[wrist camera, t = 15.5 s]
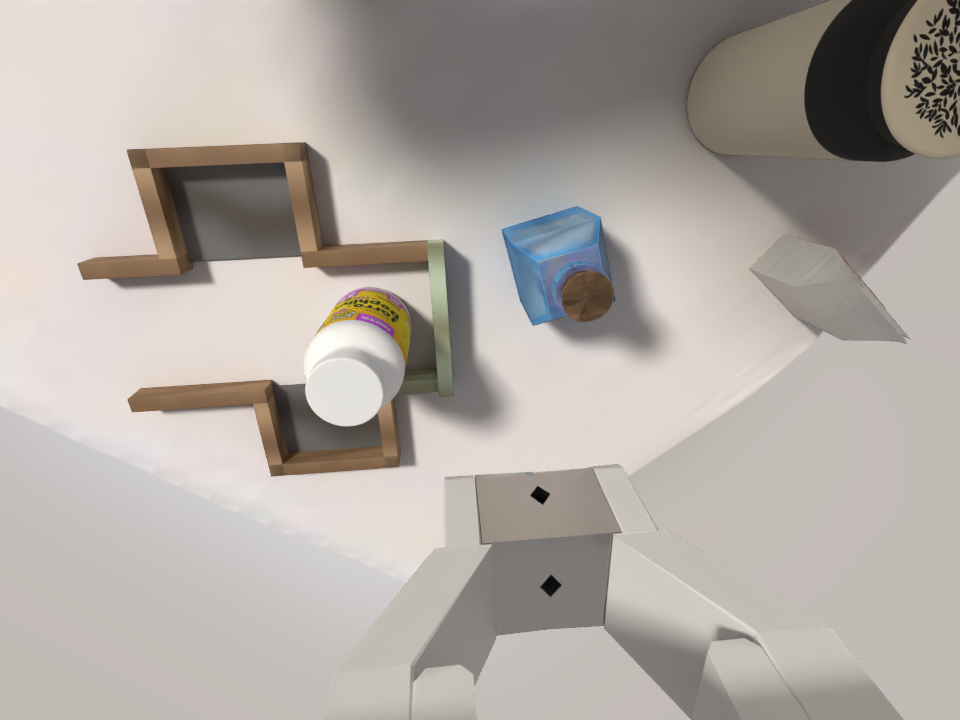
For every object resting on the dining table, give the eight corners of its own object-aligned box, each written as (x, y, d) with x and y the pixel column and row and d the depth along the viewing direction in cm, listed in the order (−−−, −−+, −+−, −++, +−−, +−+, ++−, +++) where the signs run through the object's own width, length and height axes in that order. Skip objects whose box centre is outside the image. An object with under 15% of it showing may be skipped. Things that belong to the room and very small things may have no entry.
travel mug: (724, 177, 39) (932, 203, 23) (663, 98, 36) (847, 62, 20) (810, 94, 37) (1107, 57, 21) (752, 4, 34) (1038, -121, 18)
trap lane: (57, 152, 35) (25, 153, 32) (436, 137, 36) (436, 136, 34) (170, 471, 46) (153, 492, 43) (457, 449, 47) (458, 469, 45)
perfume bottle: (520, 301, 42) (548, 357, 31) (501, 229, 39) (525, 262, 28) (591, 279, 42) (645, 329, 31) (577, 206, 39) (630, 231, 28)
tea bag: (793, 316, 44) (885, 361, 35) (748, 268, 42) (834, 303, 33) (827, 284, 43) (931, 322, 34) (783, 234, 41) (881, 260, 32)
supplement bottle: (417, 291, 41) (408, 351, 29) (407, 364, 43) (394, 446, 32) (334, 278, 40) (290, 335, 28) (328, 353, 42) (286, 434, 31)
